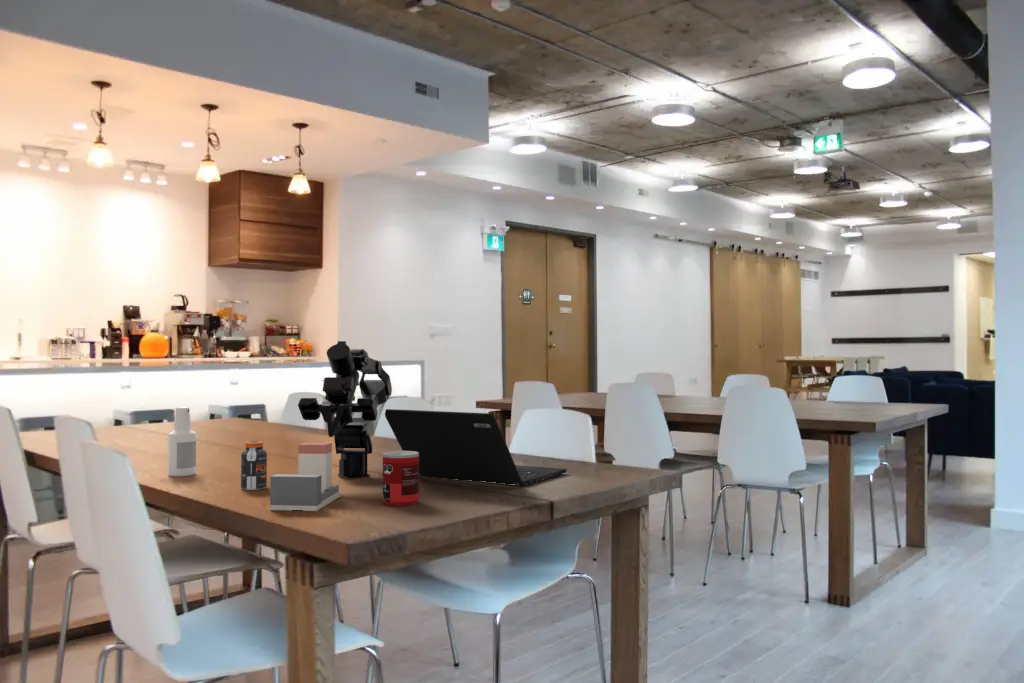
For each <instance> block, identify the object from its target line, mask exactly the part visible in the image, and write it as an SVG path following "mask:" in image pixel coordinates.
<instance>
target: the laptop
mask: <svg viewBox="0 0 1024 683" xmlns="http://www.w3.org/2000/svg"><path fill="white" fill-rule="evenodd" d="M384 417H385V418H386V421H387V423H388V425H389V427H390V429H391V430H392V433H393V435H394V437H395V439H396V442H398V444H399V447H400V448H401V451H415V452H418V453H419V477H420V476H427V477H426V478H431V477H436V478H435V479H441V478H447V479H446V480H451V479H458V480H457V481H461V480H472V481H486V482H496V483H505V484H515V485H524V486H527V485H526V484H528V485H531V484H530V483H532V484H534V483H533V482H535V483H537V482H536V481H539V482H541V481H540V480H542V481H544V480H543V479H545V480H547V479H546V478H548V479H551V478H550V477H552V478H554V477H553V476H555V477H557V476H556V475H558V476H560V475H559V474H561V475H563V474H562V473H564V474H566V473H567V471H568V470H567V468H559V467H557V468H556V467H546V466H545V467H543V466H531V465H529V466H528V465H518V464H515V461H514V459H513V457H512V454H511V452H510V450H509V448H508V445H507V442H506V440H505V438H504V436H503V435H504V434H503V433H502V431H501V429H500V426H499V424H498V422H497V419H496V416H495V414H494V413H488V412H485V413H484V412H466V411H465V412H464V411H461V412H460V411H443V410H442V411H439V410H437V411H436V410H419V409H418V410H416V409H395V408H394V409H390V408H388V409H387V408H386V409H385V412H384Z"/></svg>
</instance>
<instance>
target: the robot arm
mask: <svg viewBox="0 0 1024 683" xmlns="http://www.w3.org/2000/svg"><path fill="white" fill-rule="evenodd" d="M326 356H327V360H328V362H329V365H330V368H331V371H332V373H333V374H335V377H331V376H330V377H329V376H328V377H326V376H325V377H324V378H323V385H322V391H323V392H324V394H325V396H324V399H325V400H322V401H321V403H319V402H318V399H317V397H301V398H300V399H299V401H298V403H297V407H298V410H299V412H300V415H301V418H302V419H303V420H305V421H317V420H318V419H320V417H321V416H322V419H323V421H324V423H326V426H327V434H328V437H329V438H333V437H334V438H333V439H334V447H335V454H336V455H339V454H340V459H338V462H339V463H338V464H339V465H338V468H339V469H338V474H337V476H338V477H341V478H346V479H349V480H350V479H358V478H359V479H360V478H367V477H371V474H370V473H368V455H369V454H373V450H374V448H373V441H372V439H371V438H372V437H371V436H370V432H369V430H368V429H369V428H368V427H369V425H370V423H371V422H372V421H376V420H377V418H378V406H380V405H383V404H385V403H386V402H387V401H388V400H389V399H390V397H391V396H392V392H393V386H392V383H391V382H392V381H391V376H390V374H388V373H387V372H386V370H385V369H384V368H383V366H382V365H383V364H382V362H381V360H377V359H374V358H372V357H369V353H368V352H367V351H366V350H365V349H363V348H351V349H350V347H349V345H347V341H346V340H338V341H337V343H336V344H333V345H332V346H330V347H329V348H328V349H327V350H326ZM359 372H361V373H362V375H361V377H360V373H359ZM366 375H377V377H378V378H379V379H365V377H366ZM359 379H360V380H359ZM357 387H359V389H360V394H361V397H362V398H361V397H359V398H357V401H356V402H355V403H353V402H354V401H355V400H356V396H355V393H356V391H357Z"/></svg>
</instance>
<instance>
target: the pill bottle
mask: <svg viewBox="0 0 1024 683" xmlns="http://www.w3.org/2000/svg"><path fill="white" fill-rule="evenodd" d="M244 445H245V446H244V447H245V449H244V450H243V451H242V452H241V454H240V458H241V459H240V488H241V490H245V491H257V490H263V489H265V488H267V484H268V483H267V482H268V480H267V479H268V478H267V477H268V475H267V474H268V471H267V469H268V468H267V467H268V453H267V451H266V450H265V449H264V442H263V441H259V440H251V441H245V444H244Z"/></svg>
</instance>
